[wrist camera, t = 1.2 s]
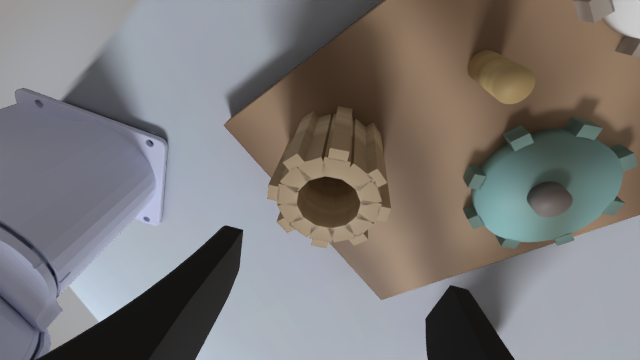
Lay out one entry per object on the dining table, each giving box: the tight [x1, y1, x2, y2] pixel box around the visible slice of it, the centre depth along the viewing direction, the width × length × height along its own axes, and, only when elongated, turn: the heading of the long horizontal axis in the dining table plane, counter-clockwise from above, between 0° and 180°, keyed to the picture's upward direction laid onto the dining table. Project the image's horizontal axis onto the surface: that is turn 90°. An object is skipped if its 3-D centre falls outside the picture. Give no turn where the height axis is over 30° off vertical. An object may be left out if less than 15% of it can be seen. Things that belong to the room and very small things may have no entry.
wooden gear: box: [267, 106, 391, 248], centre depth 16 cm, size 6×6×5 cm
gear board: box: [224, 0, 640, 300], centre depth 15 cm, size 26×18×5 cm
